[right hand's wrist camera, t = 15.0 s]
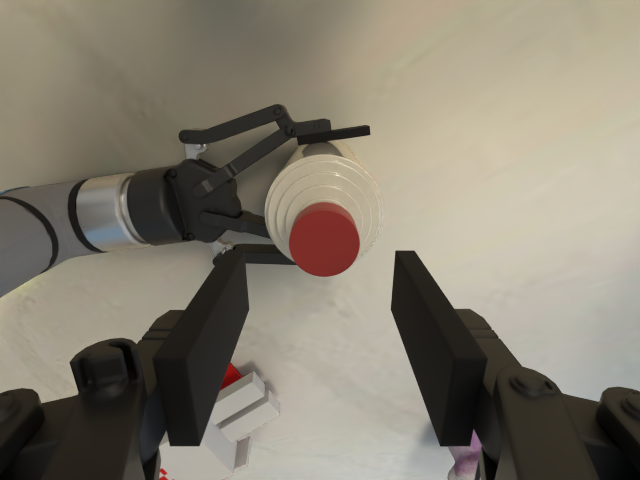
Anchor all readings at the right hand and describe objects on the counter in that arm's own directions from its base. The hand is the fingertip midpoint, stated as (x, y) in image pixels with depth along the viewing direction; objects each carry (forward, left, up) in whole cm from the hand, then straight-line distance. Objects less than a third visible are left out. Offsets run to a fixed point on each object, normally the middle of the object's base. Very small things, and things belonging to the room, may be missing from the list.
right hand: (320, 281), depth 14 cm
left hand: (-2, +4, -21) cm, 21 cm away
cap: (0, 0, -5) cm, 5 cm away
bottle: (0, 0, -27) cm, 27 cm away
